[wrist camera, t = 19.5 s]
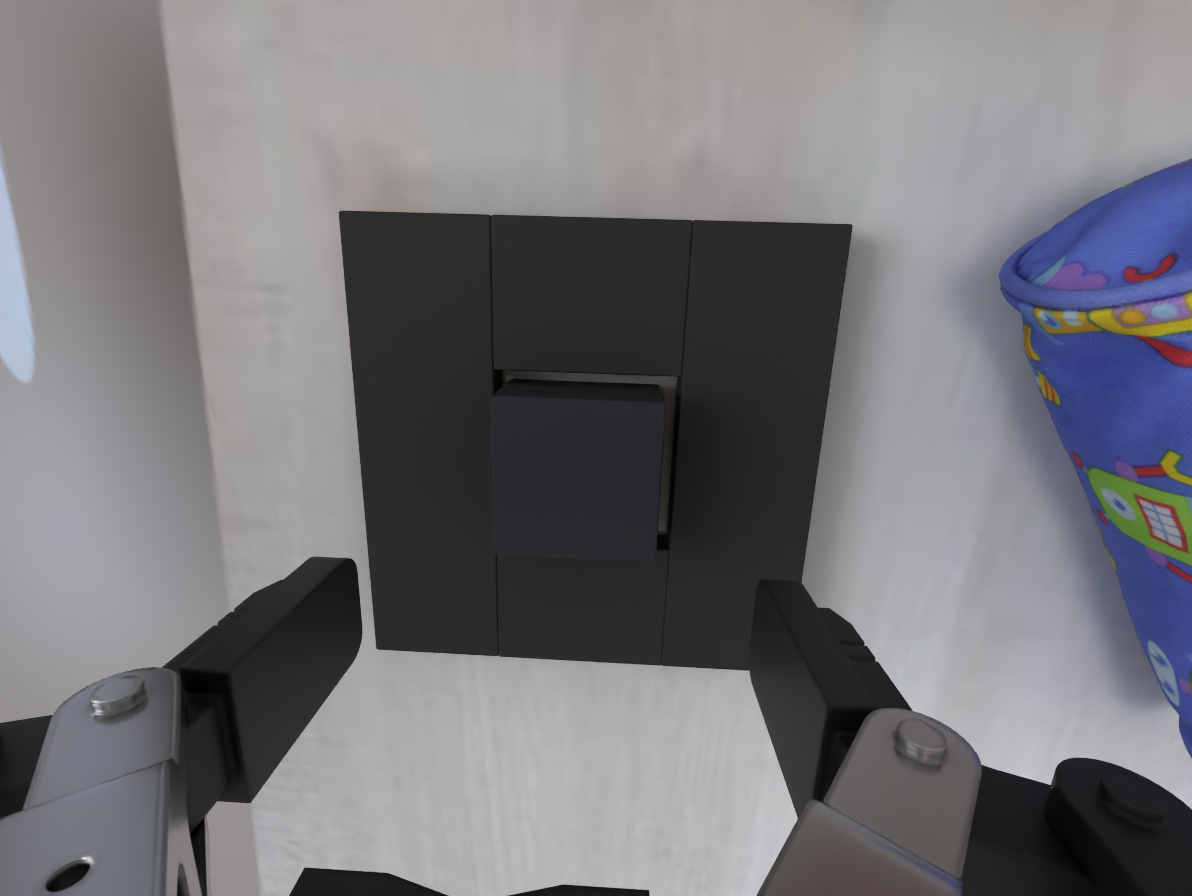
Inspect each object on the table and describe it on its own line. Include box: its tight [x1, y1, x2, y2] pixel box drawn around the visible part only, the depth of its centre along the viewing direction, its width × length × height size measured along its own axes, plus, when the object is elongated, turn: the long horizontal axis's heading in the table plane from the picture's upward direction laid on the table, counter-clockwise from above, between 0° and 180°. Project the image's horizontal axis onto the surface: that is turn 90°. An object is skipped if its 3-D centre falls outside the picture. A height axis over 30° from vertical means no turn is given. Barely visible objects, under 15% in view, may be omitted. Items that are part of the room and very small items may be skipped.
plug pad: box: [491, 379, 666, 563], centre depth 20 cm, size 6×6×4 cm
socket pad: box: [339, 211, 852, 670], centre depth 21 cm, size 16×16×2 cm
